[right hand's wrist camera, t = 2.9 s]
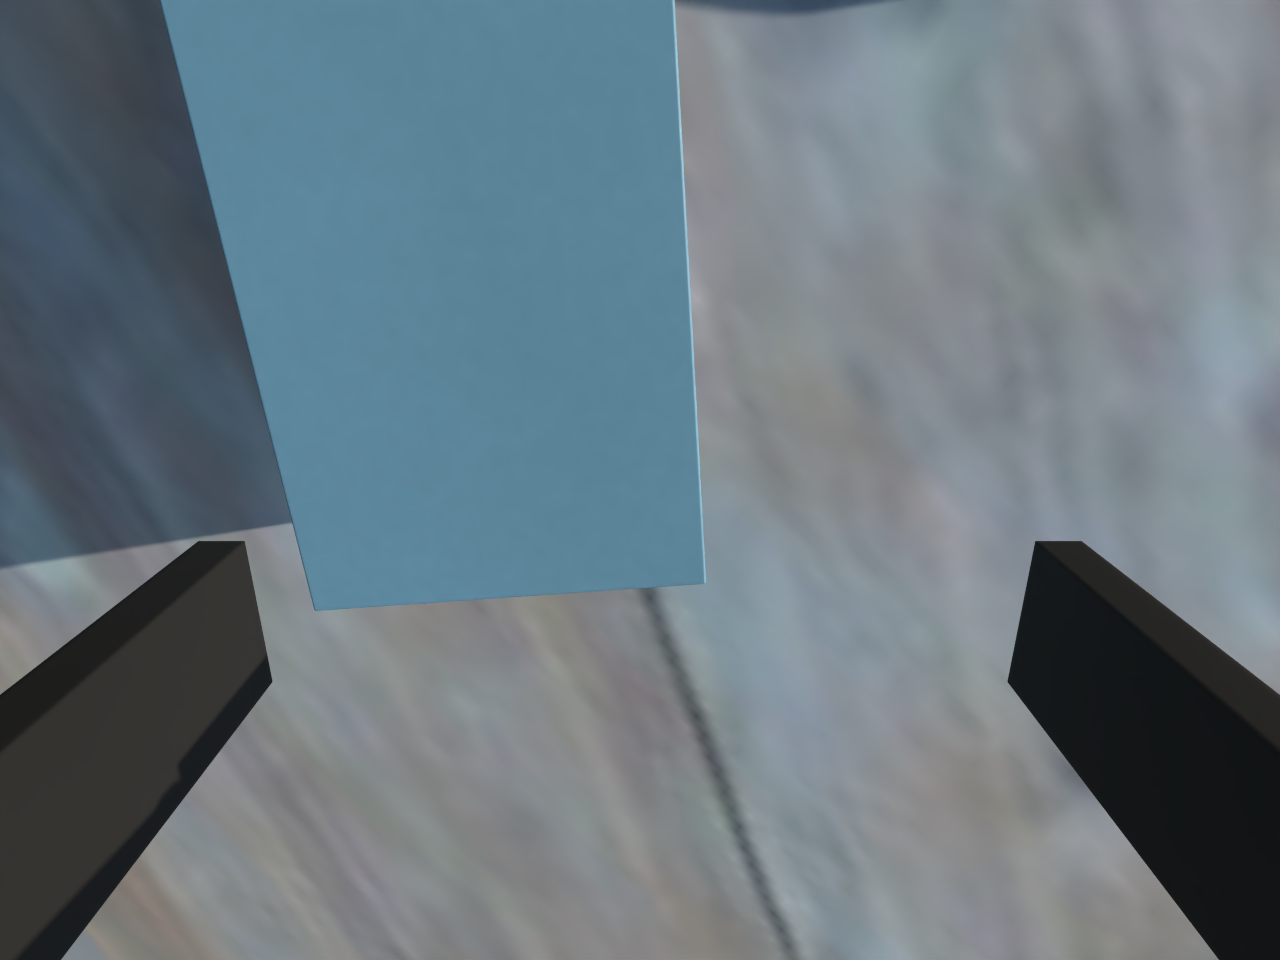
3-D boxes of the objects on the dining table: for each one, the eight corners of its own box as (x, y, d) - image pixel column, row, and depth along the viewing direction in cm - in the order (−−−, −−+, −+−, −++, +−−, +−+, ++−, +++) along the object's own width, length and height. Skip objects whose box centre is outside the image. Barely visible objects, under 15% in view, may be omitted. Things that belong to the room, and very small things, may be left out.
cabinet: (292, -181, 22) (41, -458, 13) (643, -215, 22) (647, -523, 13) (417, 482, 29) (313, 612, 20) (685, 462, 29) (706, 584, 20)
